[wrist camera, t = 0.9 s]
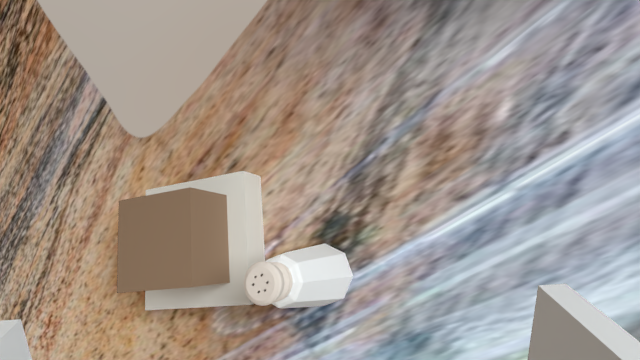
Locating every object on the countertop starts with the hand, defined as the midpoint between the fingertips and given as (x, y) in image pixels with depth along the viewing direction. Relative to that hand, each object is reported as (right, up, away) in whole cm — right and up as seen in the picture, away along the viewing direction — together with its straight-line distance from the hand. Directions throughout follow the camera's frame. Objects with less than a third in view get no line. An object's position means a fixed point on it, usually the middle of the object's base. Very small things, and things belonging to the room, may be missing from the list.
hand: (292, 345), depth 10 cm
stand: (-10, -2, +30) cm, 32 cm away
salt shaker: (+1, -4, +25) cm, 26 cm away
